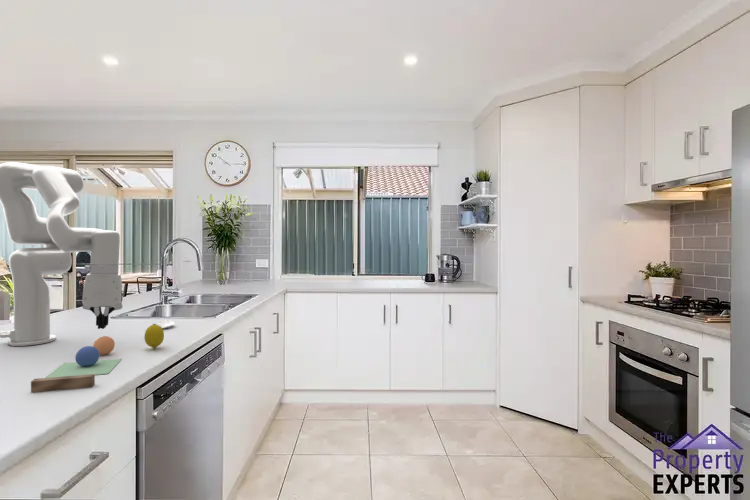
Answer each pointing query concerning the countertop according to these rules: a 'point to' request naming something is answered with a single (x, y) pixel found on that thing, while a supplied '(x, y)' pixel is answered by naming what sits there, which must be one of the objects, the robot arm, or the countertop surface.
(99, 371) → the green mark
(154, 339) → the lemon
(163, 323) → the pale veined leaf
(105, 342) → the orange ball
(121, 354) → the countertop surface
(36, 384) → the rail
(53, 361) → the countertop surface
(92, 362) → the navy ball
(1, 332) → the robot arm
